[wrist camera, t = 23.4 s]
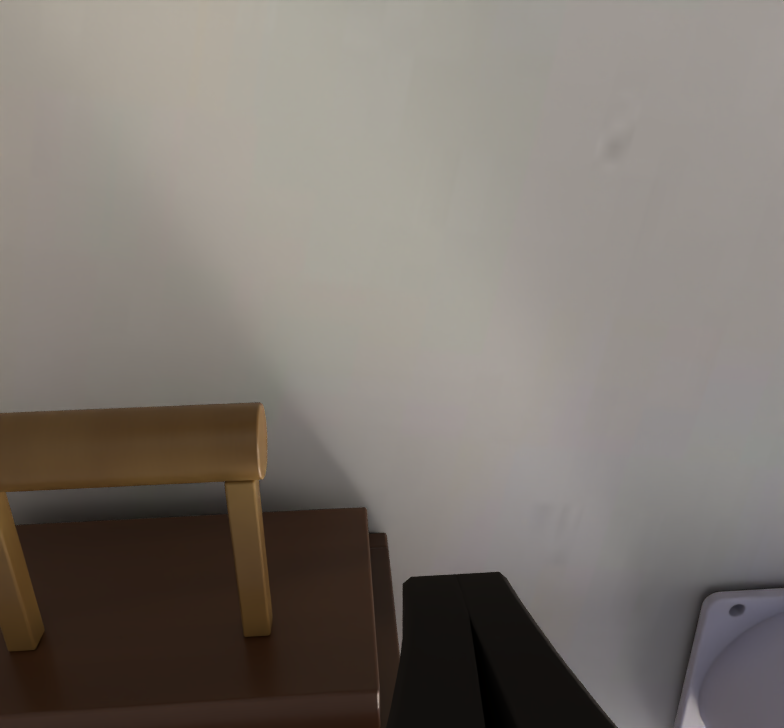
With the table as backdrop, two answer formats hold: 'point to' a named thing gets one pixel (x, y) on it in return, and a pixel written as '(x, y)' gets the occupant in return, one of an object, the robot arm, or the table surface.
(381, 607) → the cabinet
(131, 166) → the table surface
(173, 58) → the table surface
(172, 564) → the drawer
